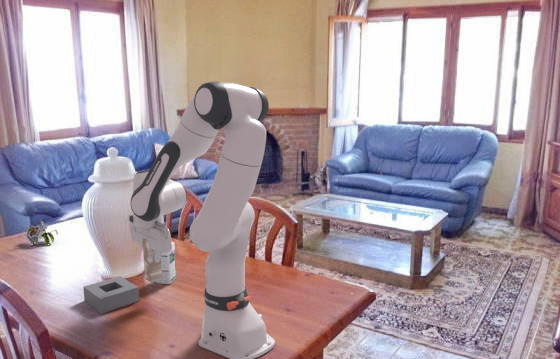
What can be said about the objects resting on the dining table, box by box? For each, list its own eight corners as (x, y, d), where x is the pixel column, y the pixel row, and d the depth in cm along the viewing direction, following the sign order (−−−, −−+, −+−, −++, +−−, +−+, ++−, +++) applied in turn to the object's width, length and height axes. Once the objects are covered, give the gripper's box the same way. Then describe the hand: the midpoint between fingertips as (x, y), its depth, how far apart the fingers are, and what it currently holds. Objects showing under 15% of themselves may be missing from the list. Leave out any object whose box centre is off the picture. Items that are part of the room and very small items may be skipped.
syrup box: (170, 284, 177) (168, 246, 174) (155, 283, 178) (153, 245, 176) (176, 278, 183) (175, 241, 180) (162, 277, 184) (160, 240, 181)
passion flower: (34, 256, 220) (17, 235, 219) (53, 245, 229) (38, 224, 228) (44, 247, 214) (28, 224, 213) (64, 235, 223) (48, 214, 222)
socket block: (139, 301, 164) (138, 287, 163) (101, 313, 155) (100, 299, 154) (120, 289, 173) (120, 276, 172) (84, 300, 164) (83, 286, 163)
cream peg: (162, 278, 162) (159, 238, 159) (151, 282, 159) (148, 241, 157) (155, 275, 165) (153, 235, 162) (145, 279, 162) (142, 238, 159)
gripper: (175, 222, 153) (178, 265, 156) (142, 211, 167) (145, 250, 170) (157, 227, 149) (160, 270, 151) (125, 215, 163) (128, 255, 166)
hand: (152, 259), depth 161 cm, fingers closed on cream peg, 4 cm apart
